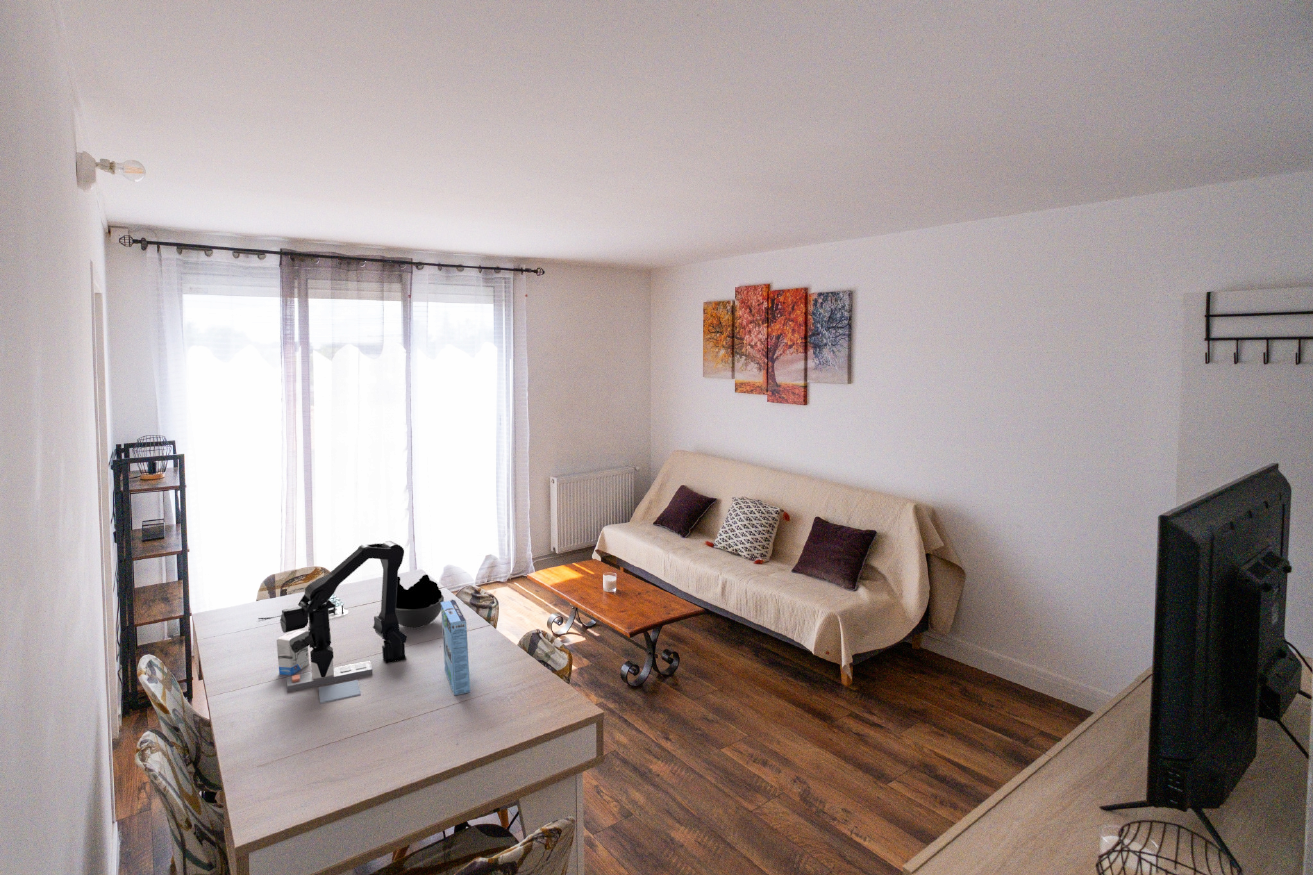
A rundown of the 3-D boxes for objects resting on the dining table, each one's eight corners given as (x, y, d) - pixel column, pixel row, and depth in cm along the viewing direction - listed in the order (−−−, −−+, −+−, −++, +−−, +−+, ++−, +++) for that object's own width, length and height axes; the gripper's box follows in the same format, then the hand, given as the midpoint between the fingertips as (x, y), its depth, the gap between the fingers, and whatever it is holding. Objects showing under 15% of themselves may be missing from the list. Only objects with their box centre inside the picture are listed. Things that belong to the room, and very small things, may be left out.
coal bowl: (456, 622, 266) (454, 574, 264) (412, 641, 249) (409, 590, 247) (421, 612, 277) (418, 565, 274) (377, 629, 260) (374, 580, 258)
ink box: (291, 675, 224) (289, 640, 222) (278, 674, 225) (275, 639, 223) (310, 663, 232) (307, 629, 231) (297, 662, 233) (294, 628, 232)
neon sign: (254, 607, 273) (335, 590, 291) (255, 617, 274) (336, 600, 292) (265, 623, 257) (349, 604, 275) (266, 634, 257) (350, 615, 276)
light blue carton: (470, 692, 212) (467, 620, 209) (453, 696, 210) (449, 623, 207) (459, 666, 230) (456, 599, 227) (443, 669, 228) (440, 601, 225)
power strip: (370, 666, 230) (369, 658, 230) (372, 675, 224) (371, 666, 224) (287, 682, 219) (286, 674, 219) (287, 692, 213) (286, 683, 213)
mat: (357, 681, 220) (357, 679, 220) (360, 695, 211) (360, 693, 211) (318, 689, 215) (318, 687, 215) (320, 704, 206) (319, 702, 206)
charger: (333, 674, 224) (331, 643, 223) (334, 680, 220) (332, 649, 219) (312, 678, 221) (310, 647, 220) (312, 684, 217) (310, 653, 216)
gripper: (290, 618, 223) (293, 664, 225) (290, 639, 206) (294, 689, 209) (328, 611, 228) (331, 657, 230) (331, 632, 212) (335, 681, 214)
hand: (322, 671), depth 220 cm, fingers open, 8 cm apart
